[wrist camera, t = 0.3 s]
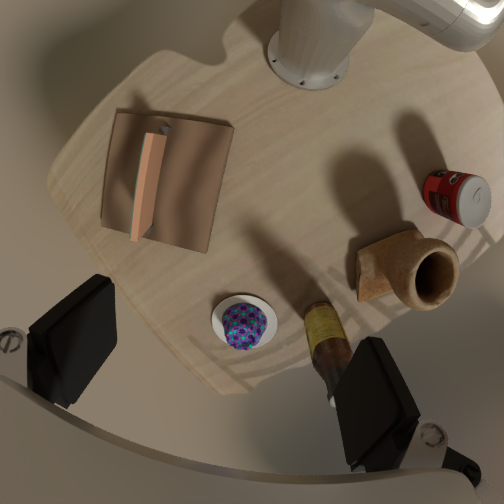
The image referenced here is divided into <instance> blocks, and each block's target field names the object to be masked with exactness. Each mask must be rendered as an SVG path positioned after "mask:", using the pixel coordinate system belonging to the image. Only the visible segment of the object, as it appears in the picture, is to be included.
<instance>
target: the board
mask: <svg viewBox="0 0 504 504" xmlns="http://www.w3.org/2000/svg"><path fill="white" fill-rule="evenodd" d="M146 133H153V134H159V135H164V136H167V138H166V143H165V148H164V153H163V158H162V163H161V168H160V174H159V180H158V185H157V192H156V198H155V205H154V212H153V219H152V225H151V226H150V227H149V229H148V230H147V231H146V232H145V233H144V235H143V236H142V237H143V238H147V239H151V240H155V241H158V242H162V243H166V244H170V245H174V246H178V247H181V248H185V249H189V250H193V251H197V252H201V253H205V254H206V252H207V251H208V246H209V241H210V236H211V231H212V226H213V221H214V216H215V211H216V207H217V202H218V197H219V193H220V188H221V184H222V179H223V175H224V171H225V166H226V162H227V158H228V153H229V149H230V145H231V141H232V137H233V133H234V128H233V127H228V126H222V125H217V124H211V123H205V122H199V121H192V120H186V119H178V118H170V117H162V116H152V115H141V114H127V113H117V116H116V120H115V125H114V130H113V135H112V140H111V146H110V151H109V158H108V164H107V171H106V179H105V187H104V197H103V208H102V222H101V226H102V227H106V228H110V229H113V230H117V231H121V232H125V233H128V234H130V229H131V219H132V210H133V202H134V194H135V187H136V180H137V173H138V167H139V161H140V156H141V151H142V145H143V140H144V136H145V134H146Z"/></svg>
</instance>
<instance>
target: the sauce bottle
mask: <svg viewBox="0 0 504 504" xmlns="http://www.w3.org/2000/svg"><path fill="white" fill-rule="evenodd" d="M304 326H305V330H306V335H307V340H308V344H309V349H310V354H311V359H312V363H313V366H314V368H315V370H316V371H317V372H318V373H319V375H320V376H321V377H322V379H323V380H324V381H325V383H326V386H327V390H328V395H327V398H328V401H329V403H330V405H331V406H332V407H335V408H336V406H335V401H334V397H333V393H334V389H335V387H336V385H337V383H338V382H339V380H340V378H341V376H342V375H343V373H344V371H345V369H346V368H347V366H348V364H349V362H350V360H351V358H352V357H353V352H352V350H351V346H350V343H349V340H348V338H347V335H346V333H345V330H344V328H343V325H342V323H341V321H340V318H339V316H338V313H337V311H336V310H335V309H334V307H333V306H332V305H331V304H329V303H324V302H319V303H315V304H313V305H311V306H310V307H309V308H308V309H307V310H306V312H305V316H304Z"/></svg>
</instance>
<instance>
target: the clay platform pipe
mask: <svg viewBox="0 0 504 504" xmlns="http://www.w3.org/2000/svg"><path fill="white" fill-rule="evenodd" d="M459 272H460V267H459V260H458V257H457V254H456V253H455V251H454V249H453V248H452V247H451V246H450V245H448V244H447V243H445V242H444V241H442V240H438V239H432V238H424V237H423V235H422V234H421V232H420V231H418V230H408V231H403V232H400V233H397V234H394V235H392V236H390V237H388V238H385V239H383V240H380V241H378V242H376V243H374V244H371V245H369V246H367V247H364V248H362V249H360V250H359V251H358V252H357V260H356V274H357V277H356V293H357V300H358V302H359V303H362V302H365V301H368V300H371V299H373V298H376V297H379V296H381V295H384V294H386V293H388V292H391V291H394V293H395V294H396V296H397V297H398V298H399V299H400V300H401V301H402V302H403V303H404V304H405V305H407V306H408V307H410V308H413V309H415V310H419V311H428V310H432V309H435V308H436V307H438V306H439V305H441V304H442V303H443V302H444V301H446V300H447V299H448V298H449V296H450V295H451V294H452V293H453V291H454V289H455V287H456V284H457V281H458V278H459Z"/></svg>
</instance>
